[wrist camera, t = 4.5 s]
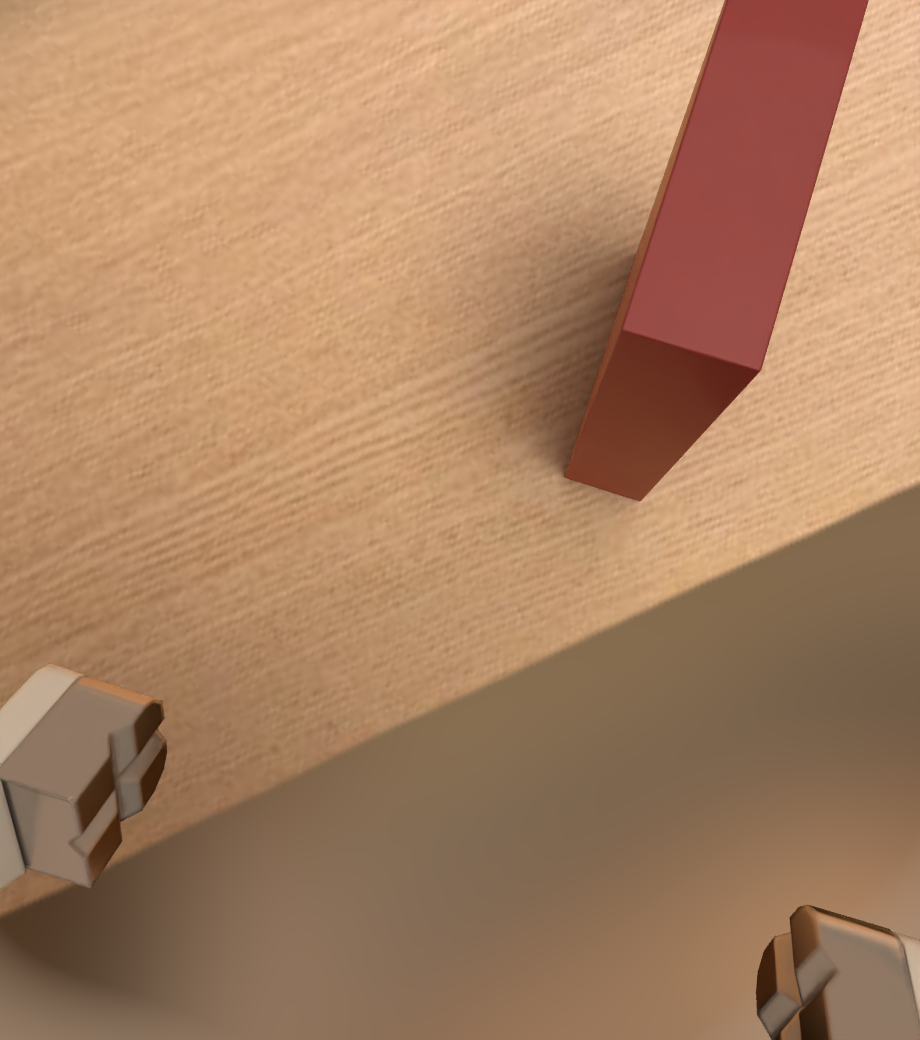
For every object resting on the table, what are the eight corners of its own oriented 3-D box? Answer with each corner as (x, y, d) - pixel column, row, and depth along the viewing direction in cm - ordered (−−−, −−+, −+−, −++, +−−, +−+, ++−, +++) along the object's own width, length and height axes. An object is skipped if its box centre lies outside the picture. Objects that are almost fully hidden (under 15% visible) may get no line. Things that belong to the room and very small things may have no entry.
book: (640, 501, 28) (761, 371, 16) (564, 477, 29) (620, 330, 16) (711, 272, 30) (875, -22, 17) (637, 251, 30) (743, -55, 17)
